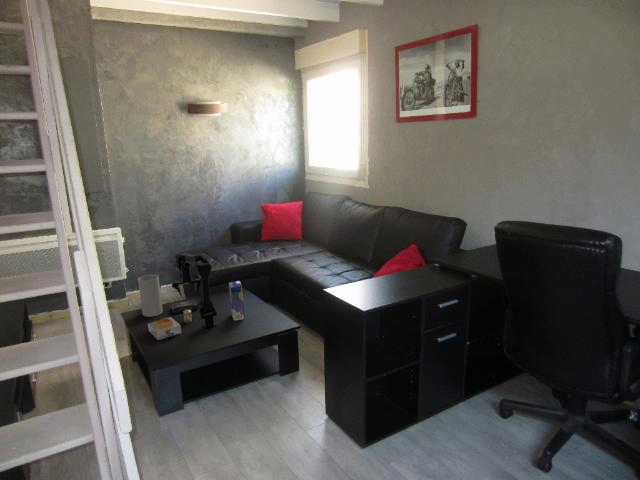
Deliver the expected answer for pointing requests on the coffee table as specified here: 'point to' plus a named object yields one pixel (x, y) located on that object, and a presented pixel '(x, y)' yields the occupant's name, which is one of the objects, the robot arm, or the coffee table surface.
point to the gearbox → (164, 328)
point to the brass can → (187, 316)
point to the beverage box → (236, 300)
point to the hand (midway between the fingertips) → (188, 295)
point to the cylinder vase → (150, 295)
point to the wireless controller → (185, 305)
